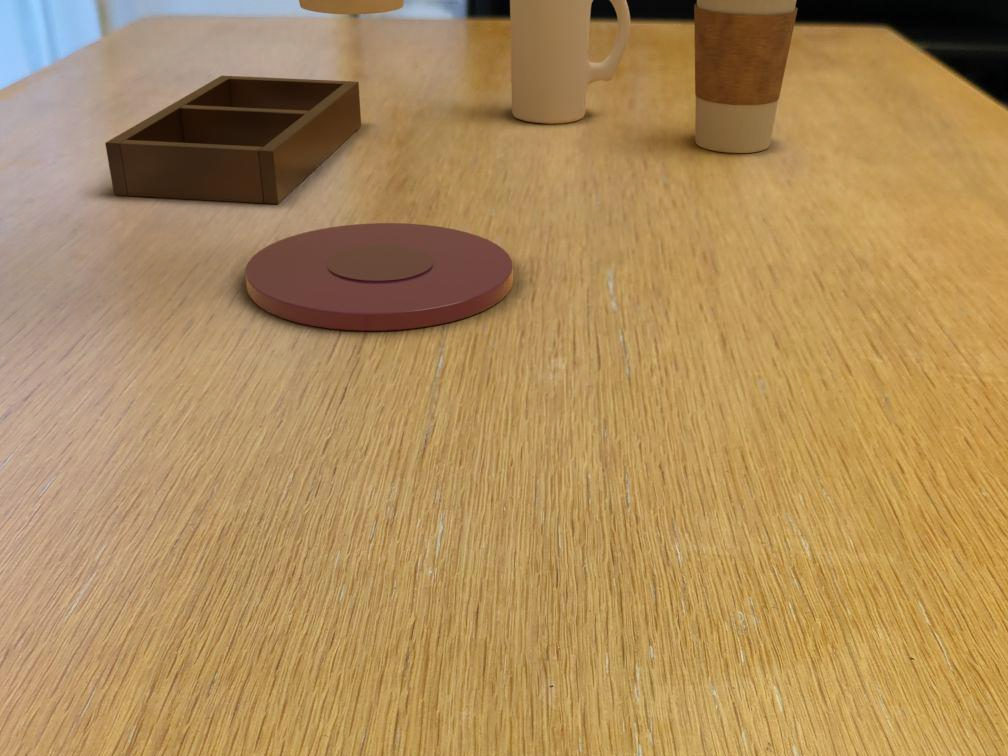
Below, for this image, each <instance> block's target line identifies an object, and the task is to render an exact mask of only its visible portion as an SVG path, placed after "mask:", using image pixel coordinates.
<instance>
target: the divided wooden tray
mask: <svg viewBox="0 0 1008 756" xmlns="http://www.w3.org/2000/svg"><path fill="white" fill-rule="evenodd" d="M361 127H362V116H361V100H360V82H359V81H355V80H354V81H353V80H352V81H351V80H350V81H349V80H329V79H309V78H308V79H307V78H284V77H264V76H241V75H240V76H239V75H220V76H218V77H216V78H215V79H213V80H211V81H209V82H208V83H206V84H204V85H203V86H201V87H199V88H197V89H195V90H194V91H193V92H190V93H189V94H187V95H185V96H183V97H182V98H180V99H179V100H177V101H175V102H173V103H171V104H170V105H167V106H166V107H164V108H162V109H161V110H159V111H157V112H156V113H154V114H152V115H151V116H149V117H147V118H146V119H144V120H142V121H140V122H138V123H137V124H135V125H134V126H132V127H130V128H129V129H126V130H125V131H123V132H121V133H119V134H118V135H116V136H114V137H113V138H111V139H109V140H108V141H106V142H104V144H105V151H106V157H107V162H108V167H109V168H108V169H109V174H110V179H111V186H112V191H113V195H114V196H124V197H144V198H159V199H160V198H162V199H177V200H179V199H180V200H195V201H196V200H197V201H213V202H232V203H252V204H268V205H270V204H271V205H278V204H279V203H280V202H282V201H283V200H284V199H285V198H286V197H287V196H288V195H289V194H290V193H292V192H293V191H294V189H296V188H297V187H298V186H299V185H300V184H301V183H302V182H303V181H304V180H305V179H306V178H307V177H308V176H309V175H311V174H312V173H313V172H314V171H315V170H316V169H317V168H318V167H319V166H320V165H321V164H322V163H324V162H325V160H327V159H328V158H329V157H330V156H331V155H332V154H333V153H334V152H335V151H336V150H337V149H339V147H341V145H343V144H344V143H345V142H346V141H347V140H348V139H349V138H350V137H351V136H352V135H353V134H354V133H355V132H357V131H358V130H359V129H360V128H361Z"/></svg>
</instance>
